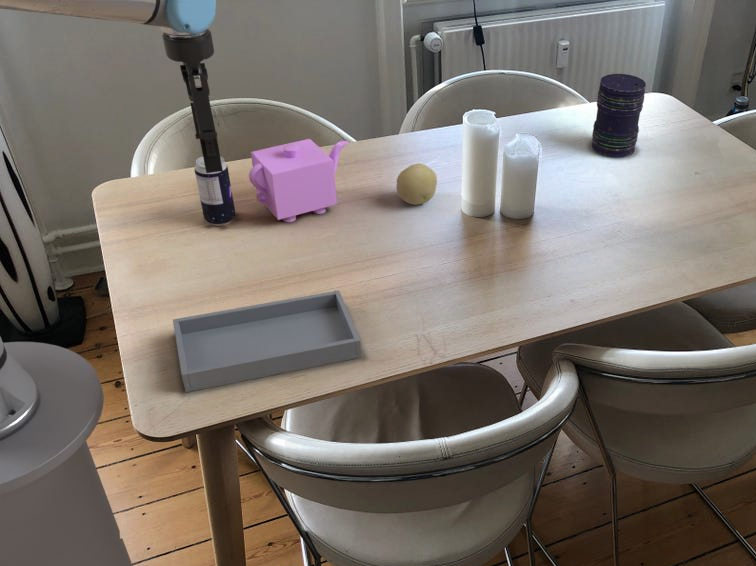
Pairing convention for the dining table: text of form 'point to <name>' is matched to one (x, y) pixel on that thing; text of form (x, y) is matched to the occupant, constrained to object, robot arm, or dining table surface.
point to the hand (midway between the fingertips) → (209, 153)
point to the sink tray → (264, 340)
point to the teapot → (295, 178)
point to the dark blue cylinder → (618, 115)
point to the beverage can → (215, 194)
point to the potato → (416, 184)
